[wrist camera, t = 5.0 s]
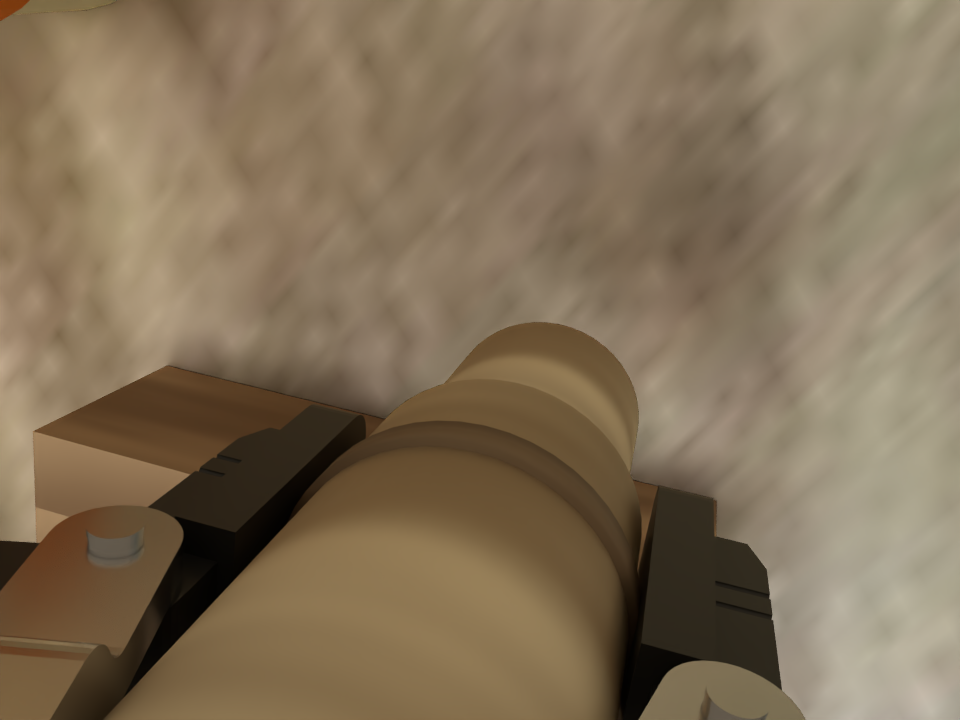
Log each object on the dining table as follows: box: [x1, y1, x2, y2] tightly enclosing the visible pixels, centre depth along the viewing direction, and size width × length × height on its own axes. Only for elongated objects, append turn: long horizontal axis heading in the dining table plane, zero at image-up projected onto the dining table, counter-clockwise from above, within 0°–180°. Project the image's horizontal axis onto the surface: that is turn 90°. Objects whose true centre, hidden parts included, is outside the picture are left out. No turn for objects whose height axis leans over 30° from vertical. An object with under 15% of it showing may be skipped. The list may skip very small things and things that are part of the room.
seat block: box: [33, 366, 717, 570], centre depth 26 cm, size 15×18×6 cm
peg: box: [103, 322, 642, 720], centre depth 10 cm, size 4×4×12 cm
